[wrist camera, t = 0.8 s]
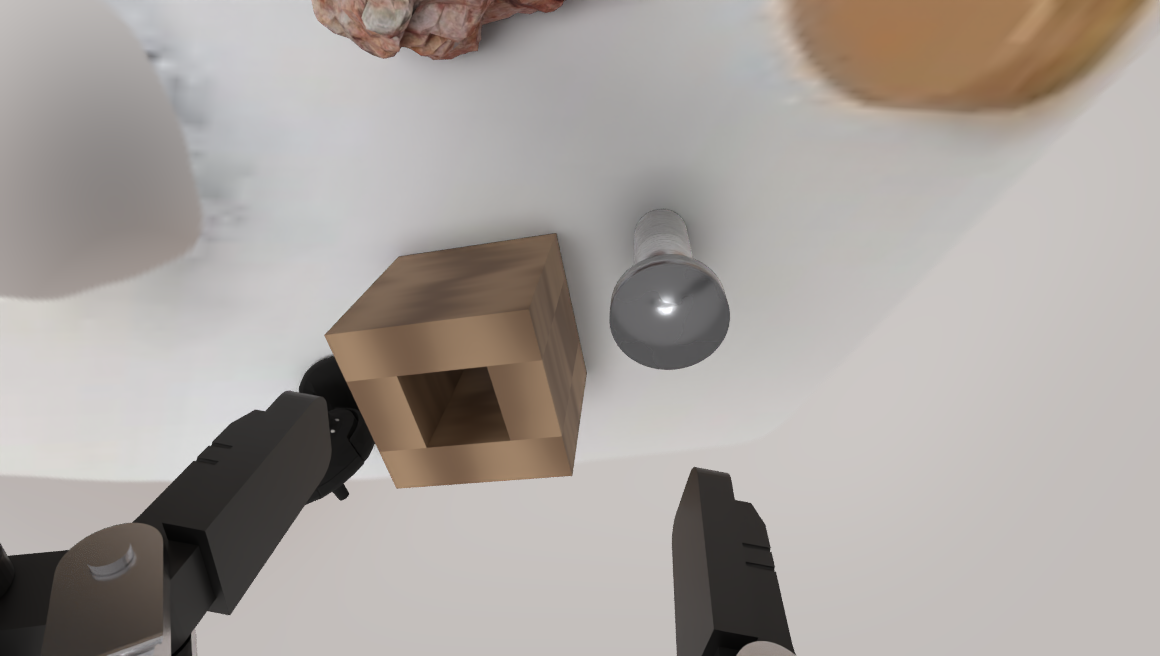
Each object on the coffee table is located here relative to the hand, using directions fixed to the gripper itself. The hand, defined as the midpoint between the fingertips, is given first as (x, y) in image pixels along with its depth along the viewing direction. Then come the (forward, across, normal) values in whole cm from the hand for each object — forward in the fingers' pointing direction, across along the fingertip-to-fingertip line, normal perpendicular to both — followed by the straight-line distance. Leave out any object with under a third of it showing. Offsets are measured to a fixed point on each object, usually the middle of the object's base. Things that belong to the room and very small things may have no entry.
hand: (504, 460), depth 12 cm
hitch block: (+22, +5, +10) cm, 25 cm away
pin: (+22, -4, +2) cm, 23 cm away
